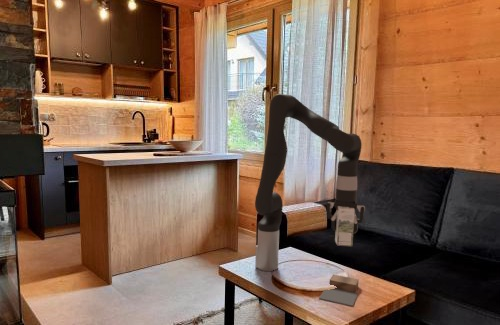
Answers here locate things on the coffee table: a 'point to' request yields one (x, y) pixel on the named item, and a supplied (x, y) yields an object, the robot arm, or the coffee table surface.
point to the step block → (344, 283)
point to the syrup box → (344, 226)
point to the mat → (339, 296)
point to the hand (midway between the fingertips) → (344, 231)
